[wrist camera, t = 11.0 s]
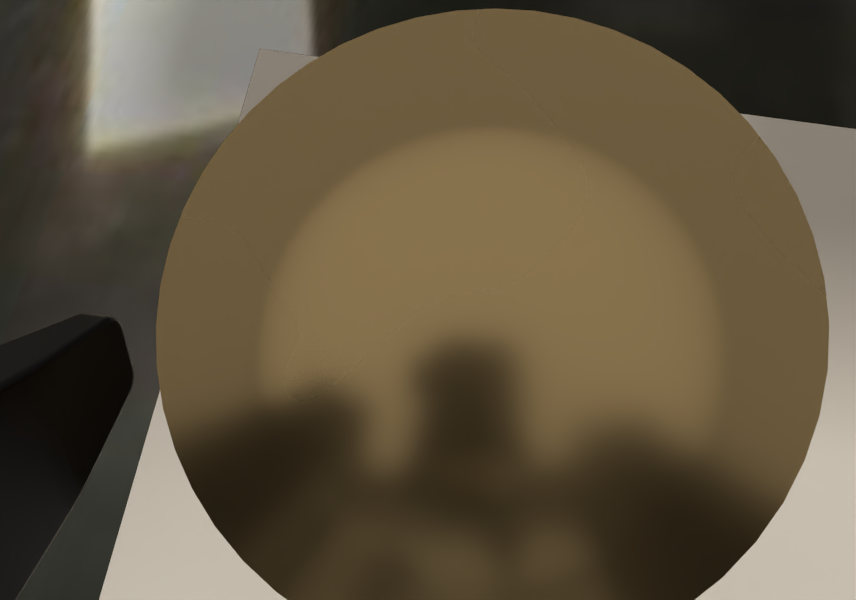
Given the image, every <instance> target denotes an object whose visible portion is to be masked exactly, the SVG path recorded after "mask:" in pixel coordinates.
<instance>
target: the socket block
mask: <svg viewBox="0 0 856 600" xmlns="http://www.w3.org/2000/svg"><path fill="white" fill-rule="evenodd" d="M317 58H318V57H316V56H309V55H301V54H294V53H287V52H279V51H272V50H264V49H260V50H259V53H258V56H257V60H256V63H255V67H254V70H253V74H252V77H251V80H250V84H249V87H248V91H247V94H246V98H245V101H244V104H243V108H242V111H241V115H240V118H239V122H238V124H239V123H240V122H241V120H242V119H243V118H244V117H245V116H246V115H247V114H248V112H249V111H250V110H251V109H253V108H254V107H255V106H256V105H257V104H258V103H259V102H260V101H261V100H262V99H263V98H265V97H266V96H267V95H268V94H269V93H270V92H271V91H272V90H273V89H274V88H275V87H277V86H278V85H279V84H280V83H282V82H283V81H285V80H286V79H287V78H289V77H290V76H291V75H293V74H294V73H296V72H297V71H298V70H300V69H301V68H303V67H304V66H305V65H307V64H308V63H309V62H311V61H313V60H315V59H317ZM741 115H742V116H743V117H744V118H745V119H746V120H747V121H748V122H749V123H750V125H751V126H752V127H753V129H754V130H755V131H756V132H757V134H758V135H759V136H760V138H761V139H762V140H763V142H764V143H765V144H766V146H767V147H768V148H769V149H770V151H771V152H772V153H773V155H774V156H775V157H776V159H777V161H778V163H779V164H780V166H781V168H782V170H783V171H784V173H785V175H786V177H787V178H788V180H789V182H790V184H791V185H792V187H793V189H794V191H795V192H796V194H797V196H798V199H799V201H800V204H801V206H802V209H803V211H804V213H805V216H806V218H807V221H808V223H809V226H810V228H811V231H812V233H813V236H814V240H815V244H816V248H817V252H818V255H819V259H820V263H821V267H822V271H823V275H824V280H825V289H826V298H827V307H828V316H829V348H828V371H827V377H826V382H825V388H824V394H823V399H822V405H821V411H820V416H819V419H818V422H817V425H816V428H815V431H814V434H813V437H812V440H811V443H810V446H809V449H808V452H807V455H806V458H805V461H804V463H803V465H802V467H801V469H800V471H799V473H798V475H797V477H796V479H795V481H794V483H793V485H792V487H791V489H790V491H789V493H788V495H787V497H786V499H785V501H784V503H783V504H782V506H781V507H780V508H779V510H778V511H777V513H776V514H775V516H774V517H773V518H772V520H771V521H770V523H769V524H768V526H767V527H766V528H765V530H764V531H763V533H762V534H761V536H760V537H759V538H758V540H757V541H756V543H755V544H754V545H753V546H752V547H751V548H750V549H749V550H748V551H747V552H746V553H745V554H744V555H743V556H742V557H741V558H740V560H739V561H738V562H737V563H736V564H735V565H734V566H733V567H732V568H731V569H730V570H729V571H728V572H727V573H726V574H725V575H724V576H723V578H721V579H720V580H719V581H718V582H716V583H715V584H714V585H713V586H711V587H710V588H709V589H708V590H706V591H705V592H704V593H702V594H701V595H700V596H699V597H697V598H696V599H695V600H856V129H851V128H844V127H836V126H829V125H821V124H814V123H807V122H799V121H792V120H784V119H777V118H769V117H762V116H755V115H747V114H741ZM99 600H287V599H285V598H284V597H283V596H281V595H280V594H278V593H277V592H276V591H275V590H274V589H273V588H271V587H270V586H269V585H268V584H267V583H266V582H265V581H264V580H263V579H262V578H261V577H260V576H259V575H258V574H256V573H255V572H254V571H253V570H252V569H251V568H250V567H249V566H248V565H247V564H246V563H245V562H244V561H243V560H242V559H241V558H240V557H239V555H238V554H237V553H236V552H235V550H234V549H233V548H232V547H231V546H230V544H229V543H228V542H227V541H226V539H225V538H224V537H223V536H222V534H221V533H220V532H219V531H218V530H217V528H216V527H215V526H214V524H213V522H212V521H211V519H210V517H209V516H208V514H207V513H206V511H205V509H204V508H203V506H202V504H201V503H200V501H199V499H198V498H197V496H196V494H195V493H194V491H193V490H192V488H191V485H190V483H189V481H188V478H187V476H186V474H185V472H184V469H183V467H182V465H181V462H180V460H179V458H178V456H177V453H176V451H175V448H174V445H173V441H172V438H171V435H170V431H169V428H168V424H167V421H166V417H165V414H164V410H163V405H162V398H161V392H159V396H158V399H157V403H156V406H155V409H154V413H153V416H152V420H151V423H150V427H149V430H148V433H147V437H146V440H145V444H144V447H143V451H142V454H141V457H140V461H139V464H138V468H137V471H136V475H135V478H134V481H133V485H132V488H131V492H130V495H129V499H128V502H127V505H126V509H125V512H124V516H123V519H122V523H121V526H120V529H119V533H118V536H117V540H116V543H115V547H114V550H113V553H112V557H111V560H110V564H109V567H108V571H107V574H106V577H105V581H104V584H103V588H102V591H101V595H100V598H99Z"/></svg>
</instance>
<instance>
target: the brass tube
mask: <svg viewBox="0 0 856 600" xmlns="http://www.w3.org/2000/svg"><path fill="white" fill-rule="evenodd" d="M828 348H829V316H828V307H827V298H826V289H825V280H824V275H823V271H822V267H821V263H820V259H819V255H818V252H817V248H816V244H815V240H814V236H813V233H812V231H811V228H810V226H809V223H808V221H807V218H806V216H805V213H804V211H803V209H802V206H801V204H800V201H799V199H798V196H797V194H796V192H795V191H794V189H793V187H792V185H791V184H790V182H789V180H788V178H787V177H786V175H785V173H784V171H783V170H782V168H781V166H780V164H779V163H778V161H777V159H776V157H775V156H774V155H773V153H772V152H771V151H770V149H769V148H768V147H767V146H766V144H765V143H764V142H763V140H762V139H761V138H760V136H759V135H758V134H757V132H756V131H755V130H754V129H753V127H752V126H751V125H750V123H749V122H748V121H747V120H746V119H745V118H744V117H743V116H742V115H741V114H740V113H739V112H738V111H737V110H736V109H735V108H734V107H733V106H732V105H731V104H730V103H729V102H728V101H727V100H726V99H725V98H724V97H723V96H722V95H721V94H720V93H719V92H717V91H716V90H715V89H714V88H712V87H711V86H710V85H708V84H707V83H706V82H705V81H703V80H702V79H701V78H700V77H698V76H697V75H696V74H694V73H693V72H692V71H691V70H689V69H688V68H687V67H685V66H683V65H682V64H680V63H678V62H677V61H675V60H673V59H672V58H670V57H668V56H667V55H665V54H663V53H662V52H660V51H658V50H657V49H655V48H653V47H651V46H649V45H647V44H645V43H643V42H640V41H638V40H636V39H633V38H631V37H629V36H627V35H624V34H622V33H620V32H618V31H615V30H613V29H609V28H606V27H603V26H600V25H596V24H593V23H590V22H587V21H583V20H580V19H577V18H572V17H567V16H561V15H556V14H550V13H544V12H539V11H529V10H513V9H496V8H495V9H477V10H458V11H451V12H445V13H439V14H433V15H428V16H422V17H416V18H413V19H410V20H406V21H403V22H399V23H396V24H392V25H389V26H386V27H382V28H379V29H377V30H374V31H372V32H369V33H367V34H365V35H362V36H360V37H357V38H355V39H353V40H350V41H348V42H346V43H343V44H341V45H340V46H338V47H336V48H334V49H333V50H331V51H329V52H327V53H325V54H324V55H322V56H320V57H318V58H317V59H315V60H313V61H311V62H309V63H308V64H307V65H305V66H304V67H303V68H301V69H300V70H298V71H297V72H296V73H294V74H293V75H291V76H290V77H289V78H287V79H286V80H285V81H283V82H282V83H280V84H279V85H278V86H277V87H275V88H274V89H273V90H272V91H271V92H270V93H269V94H268V95H267V96H266V97H265V98H263V99H262V100H261V101H260V102H259V103H258V104H257V105H256V106H255V107H254V108H253V109H251V110H250V111H249V112H248V114H247V115H246V116H245V117H244V118H243V119H242V120H241V122H240V123H239V124H238V125H237V126H236V127H235V129H234V130H233V131H232V132H231V133H230V134H229V136H228V137H227V138H226V139H225V140H224V141H223V143H222V144H221V146H220V147H219V149H218V150H217V152H216V153H215V155H214V156H213V158H212V159H211V160H210V162H209V163H208V165H207V166H206V168H205V169H204V171H203V172H202V174H201V176H200V178H199V180H198V182H197V183H196V185H195V187H194V189H193V191H192V193H191V195H190V197H189V199H188V201H187V203H186V205H185V207H184V209H183V211H182V214H181V217H180V219H179V222H178V225H177V228H176V230H175V233H174V236H173V238H172V241H171V244H170V246H169V251H168V255H167V259H166V263H165V268H164V272H163V276H162V280H161V285H160V293H159V302H158V312H157V321H156V353H157V372H158V379H159V385H160V392H161V398H162V405H163V410H164V414H165V417H166V421H167V424H168V428H169V431H170V435H171V438H172V441H173V445H174V448H175V451H176V453H177V456H178V458H179V460H180V462H181V465H182V467H183V469H184V472H185V474H186V476H187V478H188V481H189V483H190V485H191V488H192V490H193V491H194V493H195V494H196V496H197V498H198V499H199V501H200V503H201V504H202V506H203V508H204V509H205V511H206V513H207V514H208V516H209V517H210V519H211V521H212V522H213V524H214V526H215V527H216V528H217V530H218V531H219V532H220V533H221V534H222V536H223V537H224V538H225V539H226V541H227V542H228V543H229V544H230V546H231V547H232V548H233V549H234V550H235V552H236V553H237V554H238V555H239V557H240V558H241V559H242V560H243V561H244V562H245V563H246V564H247V565H248V566H249V567H250V568H251V569H252V570H253V571H254V572H255V573H256V574H258V575H259V576H260V577H261V578H262V579H263V580H264V581H265V582H266V583H267V584H268V585H269V586H270V587H271V588H273V589H274V590H275V591H276V592H277V593H278V594H280V595H281V596H283V597H284V598H285V599H287V600H695V599H696V598H697V597H699V596H700V595H701V594H702V593H704V592H705V591H706V590H708V589H709V588H710V587H711V586H713V585H714V584H715V583H716V582H718V581H719V580H720V579H721V578H723V576H724V575H725V574H726V573H727V572H728V571H729V570H730V569H731V568H732V567H733V566H734V565H735V564H736V563H737V562H738V561H739V560H740V558H741V557H742V556H743V555H744V554H745V553H746V552H747V551H748V550H749V549H750V548H751V547H752V546H753V545H754V544H755V543H756V541H757V540H758V538H759V537H760V536H761V534H762V533H763V531H764V530H765V528H766V527H767V526H768V524H769V523H770V521H771V520H772V518H773V517H774V516H775V514H776V513H777V511H778V510H779V508H780V507H781V506H782V504H783V503H784V501H785V499H786V497H787V495H788V493H789V491H790V489H791V487H792V485H793V483H794V481H795V479H796V477H797V475H798V473H799V471H800V469H801V467H802V465H803V463H804V461H805V458H806V455H807V452H808V449H809V446H810V443H811V440H812V437H813V434H814V431H815V428H816V425H817V422H818V419H819V416H820V411H821V405H822V399H823V394H824V388H825V382H826V377H827V371H828Z"/></svg>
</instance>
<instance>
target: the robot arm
mask: <svg viewBox="0 0 856 600" xmlns="http://www.w3.org/2000/svg"><path fill="white" fill-rule="evenodd" d="M133 381H134V371H133V366H132V362H131V358H130V355H129V351H128V347H127V343H126V339H125V336H124V332H123V328H122V325H121V324H120V322H119V321H118V320H117V319H116V318H114V317H112V316H106V315H97V314H86V313H85V314H79V315H76V316H74V317H71V318H69V319H66V320H64V321H61V322H59V323H56V324H54V325H51V326H49V327H46V328H44V329H41V330H39V331H36V332H34V333H31V334H29V335H26V336H24V337H21V338H18V339H16V340H13V341H11V342H8V343H6V344H3V345H1V346H0V600H17V598H18V597H19V595H20V593H21V592H22V590H23V589H24V587H25V585H26V584H27V582H28V580H29V579H30V577H31V576H32V574H33V572H34V571H35V569H36V567H37V566H38V564H39V563H40V561H41V559H42V558H43V556H44V554H45V553H46V551H47V550H48V548H49V546H50V545H51V543H52V541H53V540H54V538H55V537H56V535H57V533H58V532H59V530H60V528H61V527H62V525H63V524H64V522H65V520H66V519H67V517H68V515H69V514H70V512H71V510H72V509H73V507H74V505H75V503H76V502H77V500H78V498H79V497H80V495H81V493H82V491H83V489H84V487H85V485H86V483H87V481H88V479H89V478H90V475H91V473H92V471H93V469H94V467H95V465H96V463H97V461H98V459H99V457H100V455H101V452H102V450H103V448H104V446H105V444H106V442H107V440H108V438H109V436H110V434H111V432H112V429H113V427H114V425H115V423H116V421H117V419H118V417H119V415H120V413H121V411H122V409H123V407H124V404H125V402H126V400H127V398H128V396H129V394H130V392H131V389H132V386H133Z"/></svg>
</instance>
